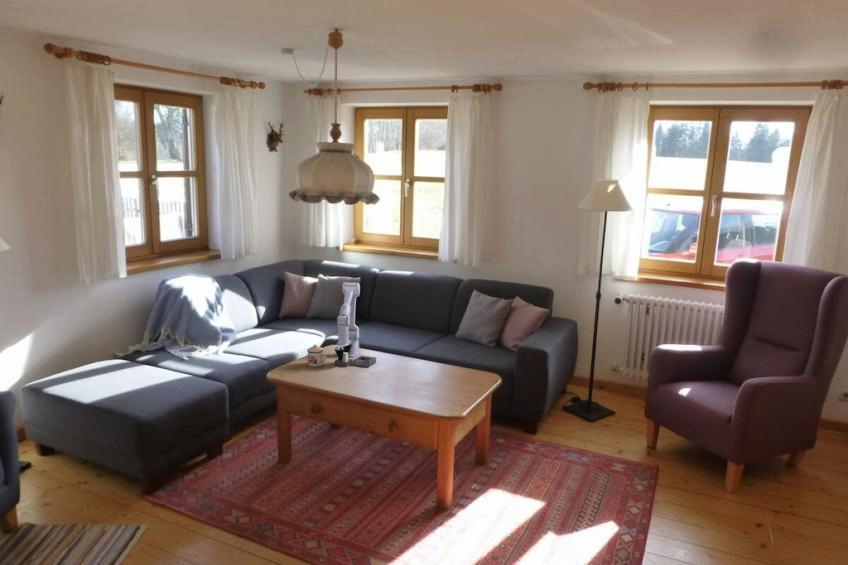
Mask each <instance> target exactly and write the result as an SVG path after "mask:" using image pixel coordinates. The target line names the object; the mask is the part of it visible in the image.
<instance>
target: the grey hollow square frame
mask: <svg viewBox="0 0 848 565" xmlns="http://www.w3.org/2000/svg"><path fill="white" fill-rule="evenodd" d="M353 360H354V359H351V358H348V361H347V362H343V361H339V360H338V358H337V359H335V360H334V361H333V362H334V364H333V365H334V366H336V367H337V366H338V367H342V366H343V368H347V367H350V366H351V365H353ZM349 365H350V366H349Z"/></svg>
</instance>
